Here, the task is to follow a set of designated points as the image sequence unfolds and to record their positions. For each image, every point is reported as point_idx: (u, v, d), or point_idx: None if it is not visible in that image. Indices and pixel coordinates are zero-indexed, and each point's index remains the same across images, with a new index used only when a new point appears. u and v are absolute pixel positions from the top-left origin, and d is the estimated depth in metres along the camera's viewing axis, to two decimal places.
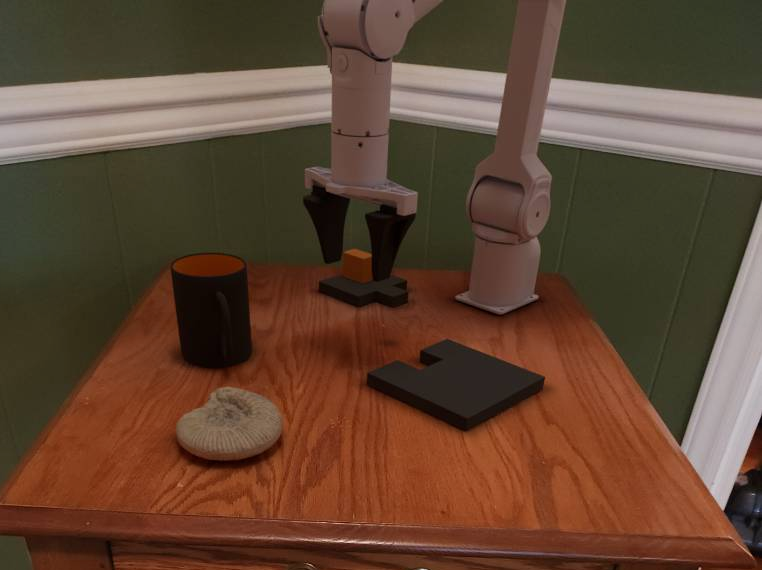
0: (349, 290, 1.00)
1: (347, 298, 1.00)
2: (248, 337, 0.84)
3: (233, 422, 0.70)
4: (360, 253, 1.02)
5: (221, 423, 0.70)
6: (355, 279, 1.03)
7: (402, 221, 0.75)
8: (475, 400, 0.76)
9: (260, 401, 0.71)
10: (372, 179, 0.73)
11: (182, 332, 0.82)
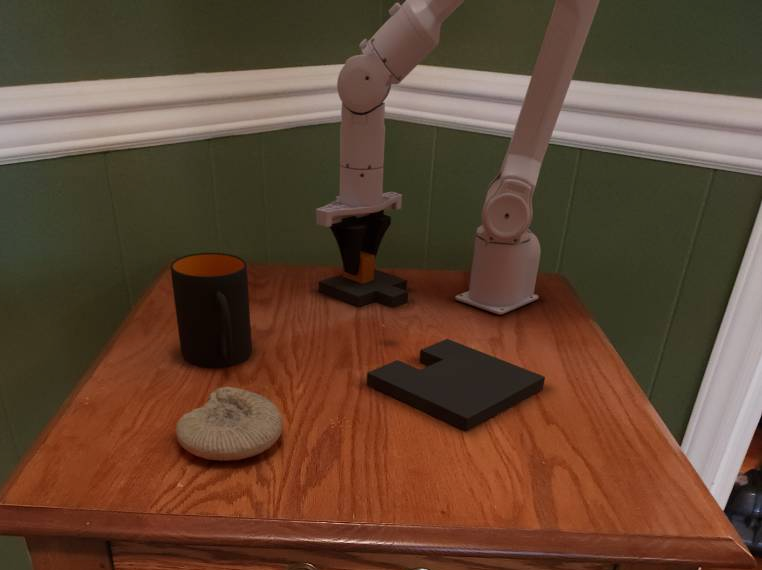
0: (349, 290, 1.00)
1: (347, 298, 1.00)
2: (248, 337, 0.84)
3: (233, 422, 0.70)
4: (360, 253, 1.02)
5: (221, 423, 0.70)
6: (355, 279, 1.03)
7: None
8: (475, 400, 0.76)
9: (260, 401, 0.71)
10: (341, 198, 0.96)
11: (182, 332, 0.82)
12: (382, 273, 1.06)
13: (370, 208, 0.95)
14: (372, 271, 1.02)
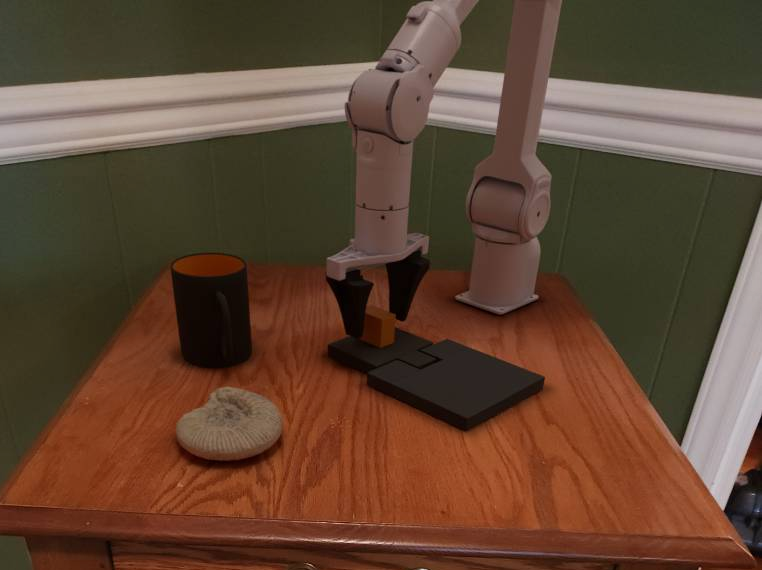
0: (365, 357, 0.83)
1: (362, 367, 0.83)
2: (248, 337, 0.84)
3: (233, 422, 0.70)
4: (377, 311, 0.85)
5: (221, 423, 0.70)
6: (371, 342, 0.86)
7: None
8: (475, 400, 0.76)
9: (260, 401, 0.71)
10: (357, 243, 0.79)
11: (182, 332, 0.82)
12: (404, 333, 0.89)
13: (392, 256, 0.78)
14: (392, 333, 0.85)
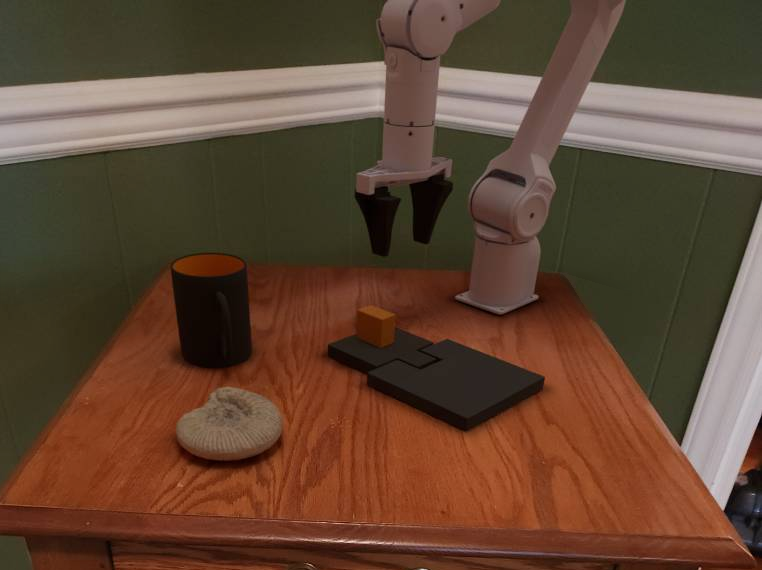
0: (365, 357, 0.83)
1: (362, 367, 0.83)
2: (248, 337, 0.84)
3: (233, 422, 0.70)
4: (377, 311, 0.85)
5: (221, 423, 0.70)
6: (371, 342, 0.86)
7: None
8: (475, 400, 0.76)
9: (260, 401, 0.71)
10: (385, 161, 0.82)
11: (182, 332, 0.82)
12: (404, 333, 0.89)
13: (419, 173, 0.82)
14: (392, 333, 0.85)
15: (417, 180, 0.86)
